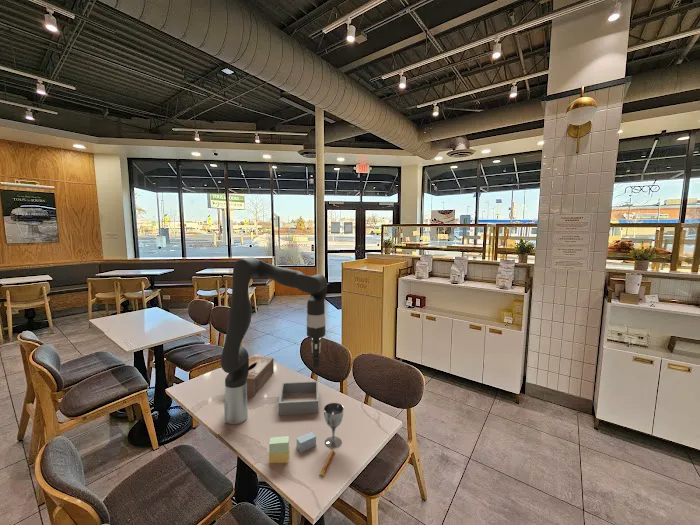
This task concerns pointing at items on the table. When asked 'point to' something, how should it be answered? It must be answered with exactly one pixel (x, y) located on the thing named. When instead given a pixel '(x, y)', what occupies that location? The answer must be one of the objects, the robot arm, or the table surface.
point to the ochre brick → (279, 457)
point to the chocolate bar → (327, 463)
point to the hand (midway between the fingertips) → (316, 362)
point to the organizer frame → (298, 406)
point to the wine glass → (333, 423)
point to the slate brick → (306, 441)
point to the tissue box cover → (258, 373)
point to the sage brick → (279, 445)
